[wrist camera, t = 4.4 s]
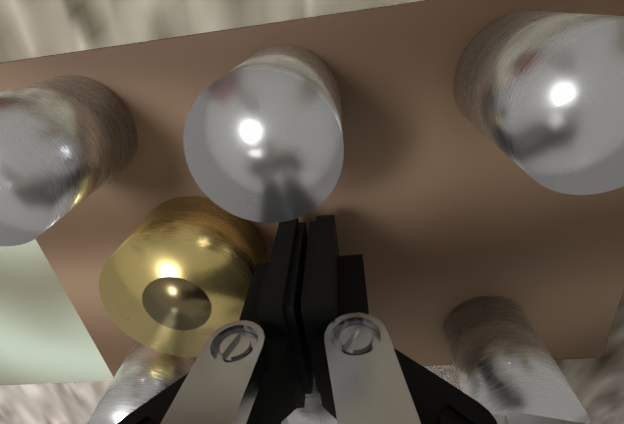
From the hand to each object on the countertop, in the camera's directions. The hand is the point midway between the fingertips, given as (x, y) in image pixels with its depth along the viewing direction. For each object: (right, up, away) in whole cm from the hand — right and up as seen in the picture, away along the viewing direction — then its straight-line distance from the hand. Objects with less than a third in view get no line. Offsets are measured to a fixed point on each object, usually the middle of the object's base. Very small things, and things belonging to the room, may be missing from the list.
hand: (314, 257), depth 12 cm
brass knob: (-4, 0, +1) cm, 4 cm away
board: (-3, +1, +2) cm, 4 cm away
